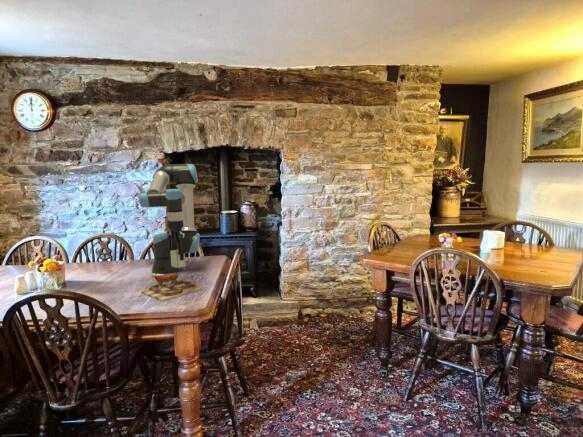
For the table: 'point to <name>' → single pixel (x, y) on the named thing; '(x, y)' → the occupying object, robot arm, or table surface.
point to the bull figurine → (164, 279)
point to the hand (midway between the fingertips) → (178, 265)
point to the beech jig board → (171, 290)
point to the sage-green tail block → (175, 258)
